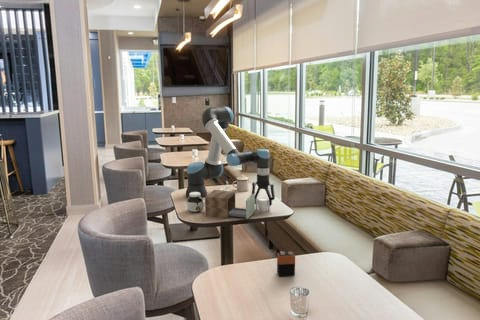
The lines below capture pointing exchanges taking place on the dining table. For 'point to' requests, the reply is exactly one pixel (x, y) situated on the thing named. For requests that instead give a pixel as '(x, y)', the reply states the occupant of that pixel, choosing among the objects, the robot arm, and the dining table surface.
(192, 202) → the spread jar
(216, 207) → the box
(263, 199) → the shot glass
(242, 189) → the teacup with lid
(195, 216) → the dining table surface
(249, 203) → the pale green angular block
